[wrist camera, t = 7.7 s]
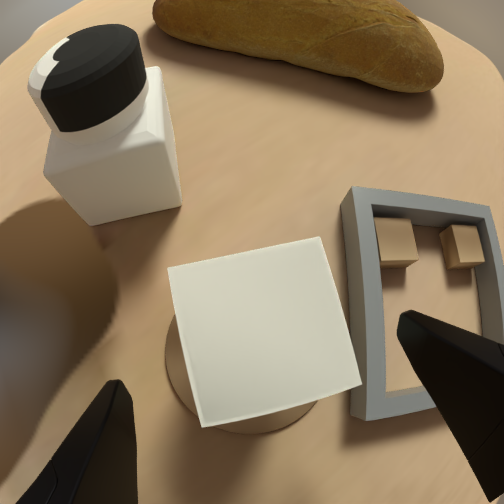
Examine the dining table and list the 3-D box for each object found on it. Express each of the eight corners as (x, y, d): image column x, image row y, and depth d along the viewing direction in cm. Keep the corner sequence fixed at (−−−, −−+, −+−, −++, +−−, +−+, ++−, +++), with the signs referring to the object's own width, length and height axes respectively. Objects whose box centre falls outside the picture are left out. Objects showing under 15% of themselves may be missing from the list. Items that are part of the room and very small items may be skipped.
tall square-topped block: (290, 371, 17) (361, 384, 7) (220, 388, 16) (201, 427, 7) (273, 303, 18) (319, 236, 8) (204, 319, 18) (167, 267, 8)
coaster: (330, 428, 16) (332, 429, 16) (165, 427, 16) (164, 428, 15) (328, 274, 20) (330, 272, 19) (172, 269, 19) (170, 267, 19)
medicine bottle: (174, 132, 23) (149, 0, 12) (183, 207, 21) (144, 62, 9) (92, 152, 22) (34, 39, 11) (89, 228, 20) (-6, 118, 8)
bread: (436, 129, 26) (482, 63, 16) (128, 50, 27) (112, -19, 18) (421, 51, 32) (445, 2, 22) (195, -6, 34) (193, -58, 24)
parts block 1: (404, 268, 20) (418, 259, 18) (369, 269, 20) (381, 260, 18) (397, 229, 21) (410, 218, 19) (362, 229, 21) (373, 217, 19)
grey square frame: (492, 382, 17) (512, 381, 15) (350, 414, 16) (365, 421, 14) (472, 218, 22) (489, 206, 20) (340, 204, 21) (351, 186, 19)
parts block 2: (470, 269, 21) (484, 261, 19) (445, 270, 20) (460, 262, 18) (462, 235, 22) (476, 226, 20) (437, 234, 21) (451, 224, 20)
